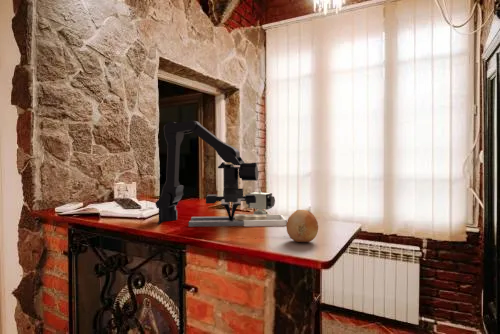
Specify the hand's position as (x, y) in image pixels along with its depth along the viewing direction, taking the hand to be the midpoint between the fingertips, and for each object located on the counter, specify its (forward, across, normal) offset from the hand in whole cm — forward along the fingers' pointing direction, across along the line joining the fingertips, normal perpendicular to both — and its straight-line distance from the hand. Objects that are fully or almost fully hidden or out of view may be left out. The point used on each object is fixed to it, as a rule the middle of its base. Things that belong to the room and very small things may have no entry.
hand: (231, 221), depth 118 cm
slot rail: (+2, -5, 0) cm, 6 cm away
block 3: (+1, +11, 0) cm, 11 cm away
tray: (+2, +12, 0) cm, 13 cm away
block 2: (+1, +7, 0) cm, 7 cm away
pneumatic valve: (+2, +13, +12) cm, 18 cm away
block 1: (+1, +3, 0) cm, 3 cm away
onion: (+2, +22, -24) cm, 32 cm away
